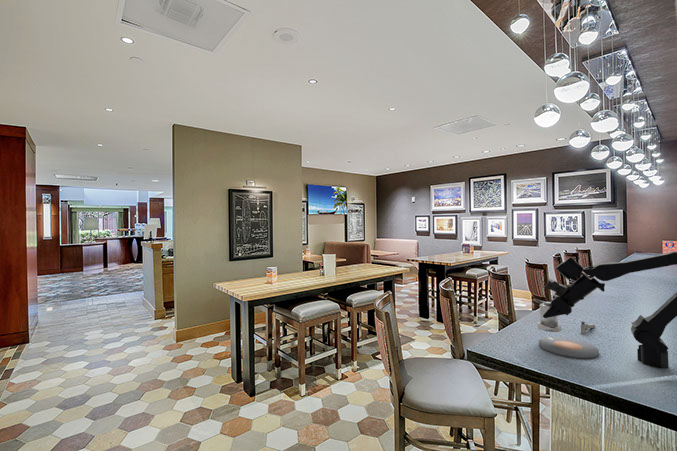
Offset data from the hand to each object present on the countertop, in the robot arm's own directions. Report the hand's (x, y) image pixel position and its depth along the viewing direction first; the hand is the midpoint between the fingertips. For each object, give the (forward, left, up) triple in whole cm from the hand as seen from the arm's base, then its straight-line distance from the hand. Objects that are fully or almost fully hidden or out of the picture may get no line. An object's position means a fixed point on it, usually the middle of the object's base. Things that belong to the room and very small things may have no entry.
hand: (544, 315), depth 120 cm
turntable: (-5, -5, -11) cm, 13 cm away
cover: (-1, -1, -5) cm, 5 cm away
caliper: (+12, -34, -13) cm, 38 cm away
